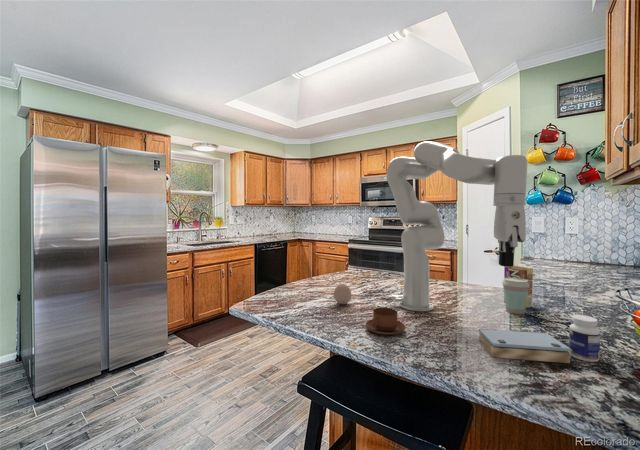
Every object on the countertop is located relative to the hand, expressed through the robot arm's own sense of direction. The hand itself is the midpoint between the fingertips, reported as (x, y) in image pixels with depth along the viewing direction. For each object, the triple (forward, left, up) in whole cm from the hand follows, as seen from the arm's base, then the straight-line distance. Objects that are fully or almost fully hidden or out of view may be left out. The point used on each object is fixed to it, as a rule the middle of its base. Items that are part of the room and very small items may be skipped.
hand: (505, 265), depth 84 cm
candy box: (+19, +38, -22) cm, 48 cm away
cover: (+1, -6, -19) cm, 20 cm away
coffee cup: (+14, +28, -22) cm, 38 cm away
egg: (-50, +27, -22) cm, 61 cm away
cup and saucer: (-33, +2, -22) cm, 40 cm away
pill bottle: (+15, -7, -22) cm, 27 cm away
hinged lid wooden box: (+1, -7, -21) cm, 22 cm away
